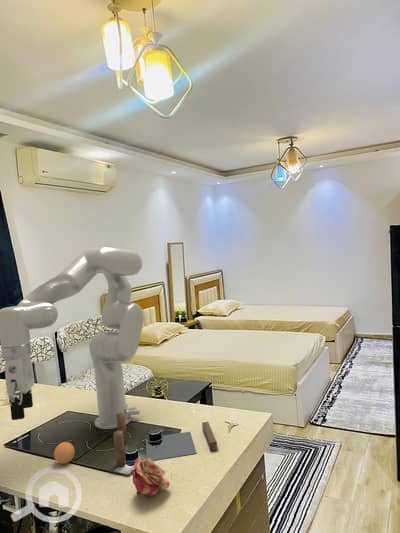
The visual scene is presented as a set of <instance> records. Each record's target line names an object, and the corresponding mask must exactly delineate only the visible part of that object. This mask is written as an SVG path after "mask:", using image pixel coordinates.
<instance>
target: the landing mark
mask: <svg viewBox="0 0 400 533" xmlns="http://www.w3.org/2000/svg"><path fill="white" fill-rule="evenodd" d="M162 436H163V442H162V443H161V444H160V445H157V446H158V447H157V446H155V445H154V446H152V445H150V444H148V442H147V438H148V437H146V438H145V452H146V453H145V454H146V458H147V459H149V458H150V459H151V460H152V462H153V460H154V462H155V461H159V460H168V459H172V458H179V457H186V456H191V455H196V454H197V450H196V446H195V443H194V439H193V437H192V433H191V431H185V432H178V433H172V434H171V433H170V434H167V435H162ZM156 447H157V448H156ZM154 449H155V450H154Z"/></svg>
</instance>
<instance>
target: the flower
mask: <svg viewBox="0 0 400 533" xmlns="http://www.w3.org/2000/svg"><path fill="white" fill-rule="evenodd" d="M130 470H131V471H130V472H131V476H132V483H133V485H134V487H135V489H136V490H135V491H136V492H135V493H136V496H139V497H141V496H142V495H143V494H144V495H145V497H148V498H150V499H153V500H155V499H154V497H153V496H155V495H157V494H160V493H161V492H160V490H166V489H168V488H170V484H171V483H170V481H169V480H167V479H166V478H165V477H164V476H165V475H166V471H165V470H163V468H162V467H160V466H159V465H158V464H156V463H155V461H154V460H153V461H152V460H151V459H150V458H149V459H147V457H145V458H143V457H141V458H136V459H135V460H134V464H133V467H132V468H130ZM159 489H160V490H159Z"/></svg>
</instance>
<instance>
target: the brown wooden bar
mask: <svg viewBox="0 0 400 533" xmlns="http://www.w3.org/2000/svg"><path fill="white" fill-rule="evenodd" d="M201 427H202V432H203V435H204V438H205V441H206V443H207V446H208V448H209V451H210V452H215V451H218V444H217V442H218V441H217V440H216V437H215V435H214V432H213V430H212V428H211V425H210V422H209V421H203V422H201Z"/></svg>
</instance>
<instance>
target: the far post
mask: <svg viewBox="0 0 400 533" xmlns="http://www.w3.org/2000/svg"><path fill="white" fill-rule="evenodd" d="M116 420H117V428H116V429H117V431H123V437H124V446H125V445H127V444H128V437H127V426H126V425H127V424H126V423H125V414H124V413H119V414H117V415H116Z"/></svg>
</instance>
